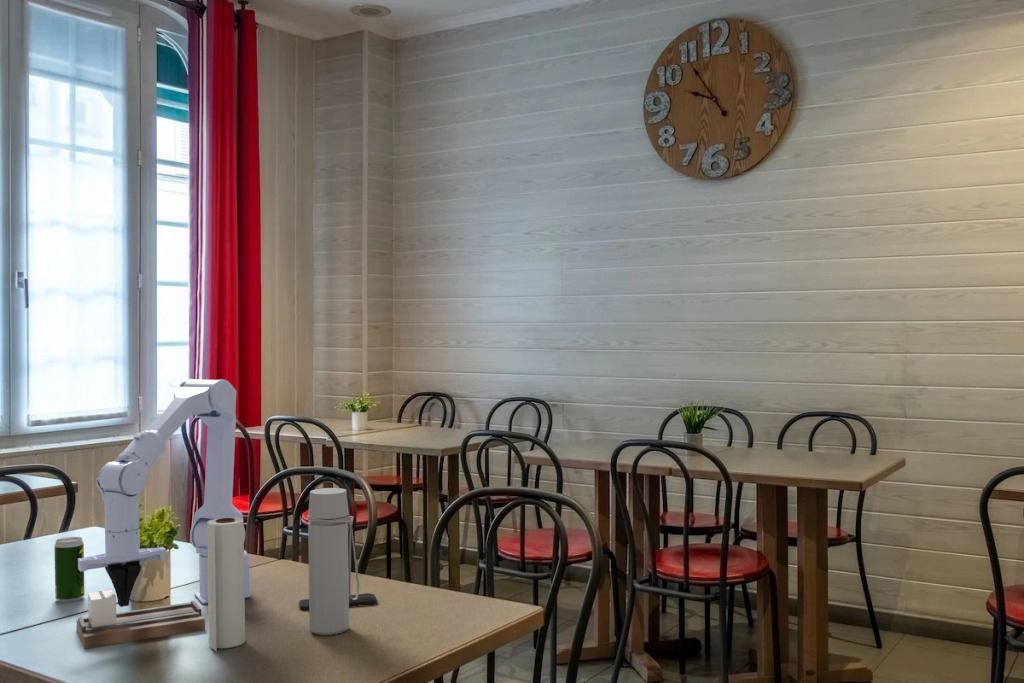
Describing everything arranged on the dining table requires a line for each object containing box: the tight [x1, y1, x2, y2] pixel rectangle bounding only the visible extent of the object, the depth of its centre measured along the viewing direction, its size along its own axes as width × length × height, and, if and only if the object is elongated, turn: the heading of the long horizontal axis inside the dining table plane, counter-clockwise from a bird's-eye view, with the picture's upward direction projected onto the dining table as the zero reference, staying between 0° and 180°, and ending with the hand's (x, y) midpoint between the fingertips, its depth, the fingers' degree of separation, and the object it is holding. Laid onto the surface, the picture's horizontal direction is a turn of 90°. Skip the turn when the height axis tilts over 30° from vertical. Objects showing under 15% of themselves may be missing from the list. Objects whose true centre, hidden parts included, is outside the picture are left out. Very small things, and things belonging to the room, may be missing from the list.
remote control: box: [298, 592, 378, 612], centre depth 191 cm, size 5×2×15 cm
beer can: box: [53, 536, 85, 604], centre depth 196 cm, size 5×5×12 cm
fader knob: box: [87, 589, 117, 628], centre depth 173 cm, size 4×5×5 cm
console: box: [75, 600, 206, 650], centre depth 176 cm, size 20×12×3 cm, turn 120°
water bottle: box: [306, 487, 360, 636], centre depth 175 cm, size 9×8×25 cm
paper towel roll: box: [207, 518, 246, 653], centre depth 168 cm, size 7×6×21 cm
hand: (123, 605), depth 175 cm, fingers closed
